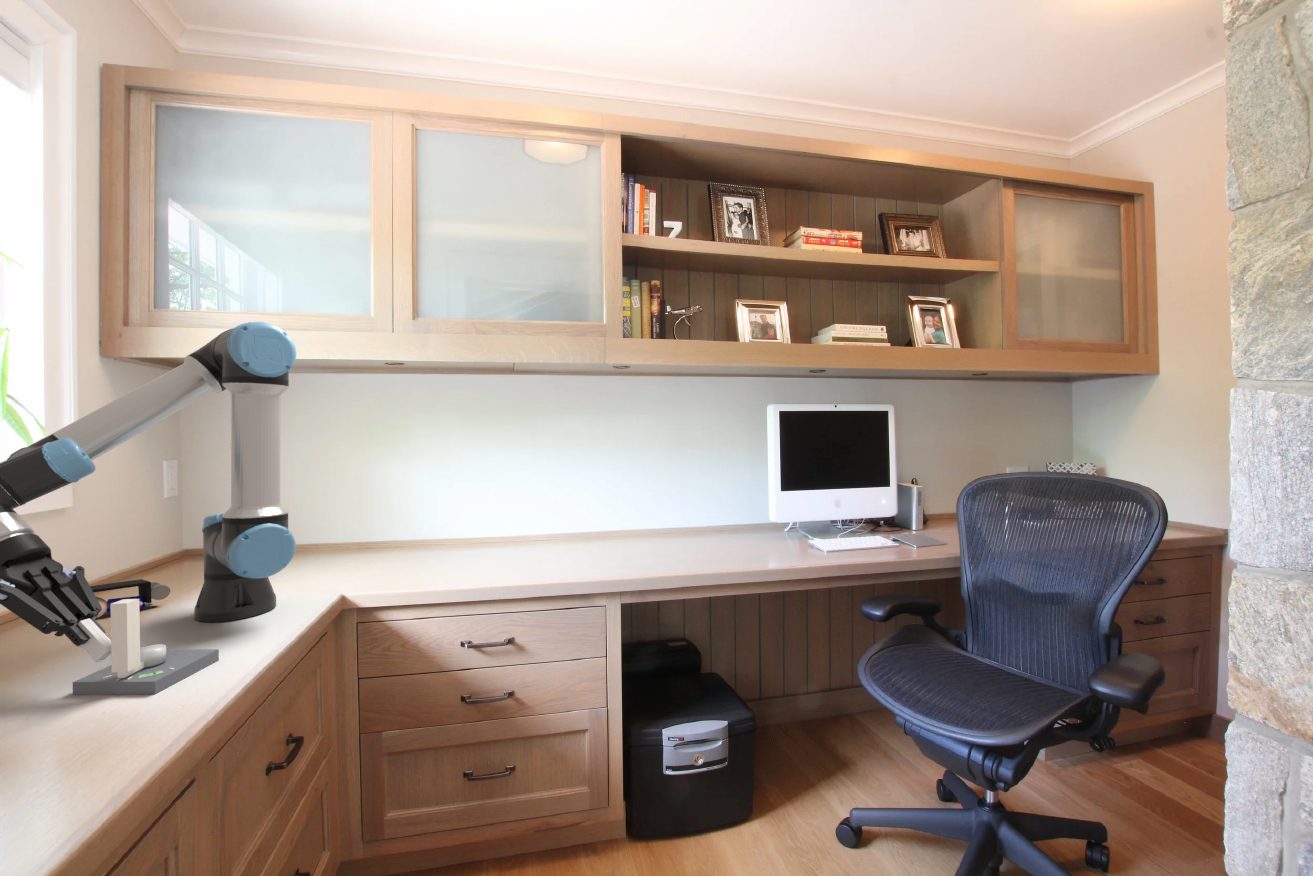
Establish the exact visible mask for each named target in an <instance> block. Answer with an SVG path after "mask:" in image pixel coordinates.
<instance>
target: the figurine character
mask: <svg viewBox="0 0 1313 876" xmlns="http://www.w3.org/2000/svg"><path fill="white" fill-rule="evenodd" d="M89 586H90V587H91V589H92V591H93V593H94V594H95V593H99V592H100V593H102V592H104V591H105V592H106V591H113V590H121V589H129V588H133V587H134V588H136V587H138V589H137V590H138V595H136V596H135V595H134V596H127V597H125V596H124V597H117V598H109V599H107V600H105V598H102V597H100V596H96V598H97V600H98V602H99V604H100V605H101V607H102V610H101V611H100V612H99V613H98V614H97V615H96V616H95V617H94V619H95V620H97V619H99V618H101V617H102V616H103V615H105V613H107V614H109V613H110V614H111V605H110V604H111V603H114V602H117V601H120V600H123V599H139V609H140V610H147V609H154V608H157V607H158V605H154V604H153V603H152V600H155V601H160V600H164V599H166V598H168V596H170V594H171V588H170V587H169V586H168V585H165V584H161V583H159V582H156V581H149V580H146V579H143V578H142V579H133V580H126V581H119V582H118V581H117V582H111V583H104V584H96V585H89Z"/></svg>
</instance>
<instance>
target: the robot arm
mask: <svg viewBox="0 0 1313 876" xmlns="http://www.w3.org/2000/svg"><path fill="white" fill-rule="evenodd" d="M296 359H297V348H296V345H295V343H294V341H293V340H292V338H291V337H290V335H289V334H288V333H286V331H284V329H282V328H280V327H279V326H276V325H274V324H271V323H268V322H264V321H253V322H252V321H251V322H250V321H249V322H244V323H240V324H239V325H237V326H235V327H233V328H230V329H228V330H224V331H223V332H221V333H220V334H218V335H216V336H215V337H214V338H212V339H211V340H210V341H209V342H207V343H206V344H205V345H203V346H202V347H200V348H199V349H197V350H194V351H193V352H191V353H190V354H188V355H185V357H184V360H183V361H184V362H183V363H182V364H180V365H178V366H176V367H174V368H172V369H170V370H168V371H167V372H165V373H163V374H162V375H159V376H158V377H156V378H154V379H152V380H150V381H148V382H146V383H145V384H142V385H141V386H138V387H137V388H134V389H133V390H131V391H129V392H127V393H125V394H124V395H122V396H120V397H118V398H116V399H115V400H112V401H110V402H109V403H107V404H105V405H103V406H101V407H99V408H98V409H95V410H94V411H92V412H90V413H88V414H86V415H84V416H83V417H81V418H79V419H77V420H75V421H73V422H71V423H70V424H67V425H65V426H63V427H62V428H60V429H57V430H56V431H54V432H52V433H51V434H49V435H47V436H45V437H43V438H41V439H40V440H37V441H36V442H33V443H32V444H30V445H28V446H25V447H21V448H19V449H17V450H16V451H14V452H12V453H11V454H10V455H9V457H8V458H7V459H6V460H4V461H1V462H0V605H1V606H2V607H4V608H5V609H7V610H8V611H10V612H12V613H13V614H14V615H16V616H17V617H18V618H20V619H22V620H23V621H25V622H26V623H28V624H29V625H31V626H32V627H33V628H34V629H36V630H38V631H39V632H41V633H42V634H44V635H50V634H51V633H53V632H54V636H55V637H62V636H64V635H65V636H66V638H67V639H68V640H69V641H70V642H71V643H72V644H73V645H74V646H76V647H80V648H81V649H82V650H83V651H84V652H85V653H86V654H87V655H88V657H90V658H91V660H92V661H94V663H98V662H101V661H103V660H105V659H106V658H107V657H109V656H110V655H111V638H109V637H108V636H107V635H106V629H105V628H104V627H102V626H101V624H99V622H98V621H97V619H94V617H95V616H96V615H97V614H98V613H99V612H100V611H101V610H102V607H101V605H100V604H99V602H98V600H97V598H96V597H97V596H96V594H95V592H94V593H93V591H92V589H91V587H90V586H91V585H90V584H89V582H88V580H87V578H86V577H85V576H86V575H85V568H84V566H81V565H77V566H75V568H68V567H64V566H63V564H62V563H60V562H59V561H58V560H57V561H56V560H55V559H53V557H52V550H51V548H50V546H48V544H46V542H45V541H44V540H43V539H42V538H41V537H40V536H39V535H38V534H35V533H36V532H35V530H33V528H32V527H31V526H30V525H29V524H28V523H27V522H26V521H25V520H24V519H23V518H22V517H21V516H20V514H18V513H17V511H15V510H14V509H17V508H18V507H21V506H24V505H25V504H27V503H29V502H32V501H34V500H37V499H38V498H41V497H43V496H45V495H48V494H49V493H52V492H54V491H57V490H59V489H61V488H64V487H65V486H68V485H70V484H72V483H77V482H79V481H80V480H81V479H83V478H86V477H87V476H89V475H91V474H93V473H94V472H95V471H96V464H95V463H94V462H93V461H94V460H95V459H97V458H99V457H101V456H102V455H105V454H106V453H108V452H110V451H112V450H113V449H115V448H116V447H118V446H119V445H122V444H123V443H125V442H127V441H128V440H130V439H132V438H134V437H136V436H137V435H140V434H142V433H143V432H144V431H146V430H148V429H149V428H151V427H153V426H155V425H156V424H157V425H158V423H160V422H161V421H163V420H165V419H167V418H169V417H171V416H172V415H174V414H175V413H178V412H180V411H181V410H182V409H184V408H186V407H188V406H189V405H191V404H193V403H194V402H197V401H199V400H200V399H202V398H204V397H205V396H207V395H208V394H212V393H216V394H220V393H222V392H223V391H225V390H227V391H228V392H230V395H231V397H230V398H231V404H230V405H231V406H230V407H231V409H230V411H231V418H230V421H231V422H230V423H231V426H230V428H231V429H230V430H231V431H230V433H231V436H230V439H231V440H230V441H231V443H230V444H231V447H230V449H231V451H230V455H231V456H230V457H231V458H230V459H231V460H230V462H231V463H230V467H231V468H230V475H231V477H230V485H231V486H230V507H229V509H227V510H226V511H225V512H224V513H217V514H215V513H214V514H210V515H207V516H206V517H204V519H203V525H202V528H201V530H202V531H201V532H202V538H203V539H202V541H203V543H202V547H203V548H202V549H203V552H202V553H203V584H202V587H201V590H200V591H199V592H200V593H199V594H198V598H197V601H196V604H195V606H194V611H193V613H194V614H193V615H194V616H193V617H194V620H195V621H199V622H205V623H214V622H216V623H217V622H218V623H219V622H228V621H235V620H242V619H247V618H251V617H255V616H259V615H262V614H264V613H267V612H269V611H271V610H273V609H275V608H276V607H277V595H276V592H275V591H274V589H273V587H272V586H273V585H272V582H271V580H270V579H269V577H272V576H274V575H277V574H278V573H279V572H281V571H283V569H285V568H286V567H287V566H288V565H289V564H290V563H291V561H292V560H293V558H294V556H295V552H296V546H297V543H296V539H295V537H294V535H293V533H292V532H291V531H290V529H289V510H287V508H285V507H284V506H283V505H281V396H282V394H283V393H284V392H286V391H287V390H288V389H289V385H290V384H289V382H290V380H289V379H290V378H289V373H290V370H292V368H293V366H294V364H295V362H296Z"/></svg>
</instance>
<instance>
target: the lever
mask: <svg viewBox="0 0 1313 876" xmlns="http://www.w3.org/2000/svg"><path fill="white" fill-rule="evenodd" d="M110 605H111V613H110V640H111V654H110V655H111V665H112V672H118V678H125V677H127V676H129V675H131V674H133V673H135V672H137V671H139V670H140V669H142V668H144V667H150V666H155V665H158V664H161V663H163V662H165V661H166V650H167V645H166V644H162V643H160V644H152V645H146V646H142V647H141V627H140V626H141V622H140V621H141V620H140V619H141V617H140V615H141V614H140V612H141V609H139V599H123V600H120V601H117V602H114V603H111V604H110Z"/></svg>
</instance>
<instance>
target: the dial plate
mask: <svg viewBox="0 0 1313 876" xmlns="http://www.w3.org/2000/svg"><path fill="white" fill-rule="evenodd" d="M219 654H220V651H219V648H213V649H212V648H211V649H210V648H209V649H208V648H207V649H205V648H204V649H202V648H201V649H192V648H191V649H190V648H189V649H183V648H182V649H166V661H165V662H163V663H161V664H158V665H155V666H150V667H144V668H142V669H140V670H139V671H137V672H135V673H133V674H131V675H129V676H127V677H125V678H118V672H112V664H111V665H108V666H106V667H104V668H101V669H99V670H97V671H94V672H93V673H91V674H90V673H89V674H87V675H86V676H83V677H81V678H79V679H76V680H74V681H72V695H81V696H82V695H157V694H158V693H160V692H162V691H164V690H166V689H167V688H169V687H171V686H173V685H175V684H177V683H179V682H181V681H183V680H184V679H186V678H189V677H190V676H192V675H194V674H196V673H197V672H199V671H201V670H203V669H205V668H208V667H209V666H210V665H212V664H215V663H216V662H218V661H220V660H219V659H220V655H219Z"/></svg>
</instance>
